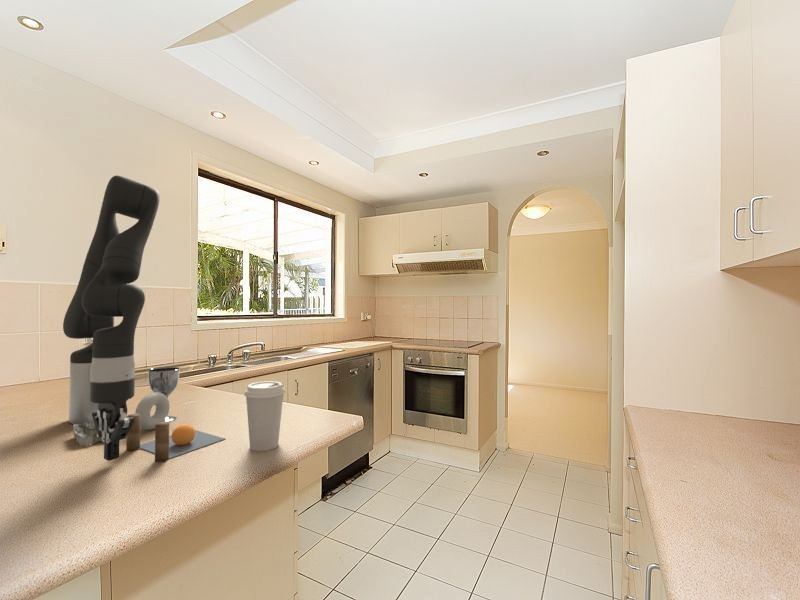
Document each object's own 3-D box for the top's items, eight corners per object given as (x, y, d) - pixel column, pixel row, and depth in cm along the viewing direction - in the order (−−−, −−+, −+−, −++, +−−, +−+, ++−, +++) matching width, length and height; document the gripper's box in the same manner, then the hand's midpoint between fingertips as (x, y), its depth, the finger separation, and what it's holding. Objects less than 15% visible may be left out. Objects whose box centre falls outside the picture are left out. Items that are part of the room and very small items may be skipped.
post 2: (152, 460, 81) (152, 424, 81) (164, 456, 84) (165, 421, 84) (158, 463, 80) (159, 426, 80) (171, 459, 82) (171, 423, 82)
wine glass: (140, 421, 108) (141, 370, 108) (166, 414, 115) (167, 366, 115) (159, 425, 105) (160, 372, 105) (184, 417, 112) (185, 367, 112)
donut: (142, 435, 97) (143, 397, 97) (131, 434, 97) (131, 396, 97) (172, 423, 106) (173, 388, 107) (162, 422, 107) (162, 388, 107)
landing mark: (135, 446, 89) (135, 445, 89) (192, 429, 101) (192, 429, 101) (168, 459, 82) (168, 458, 82) (225, 439, 95) (225, 438, 95)
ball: (163, 442, 89) (171, 421, 90) (182, 443, 93) (189, 422, 95) (176, 447, 87) (184, 425, 88) (195, 447, 91) (202, 426, 92)
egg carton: (115, 441, 93) (116, 425, 93) (76, 449, 88) (77, 432, 88) (108, 430, 101) (108, 415, 101) (71, 437, 95) (72, 421, 95)
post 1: (124, 449, 87) (124, 415, 87) (136, 446, 90) (136, 412, 90) (129, 451, 86) (130, 417, 86) (142, 448, 88) (142, 414, 88)
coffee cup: (260, 457, 84) (261, 391, 84) (234, 448, 89) (235, 385, 89) (292, 444, 92) (293, 383, 92) (267, 436, 97) (268, 379, 97)
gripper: (149, 377, 79) (147, 459, 79) (117, 371, 85) (116, 446, 85) (107, 384, 72) (105, 472, 72) (77, 376, 79) (75, 458, 79)
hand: (111, 458), depth 79 cm, fingers closed
